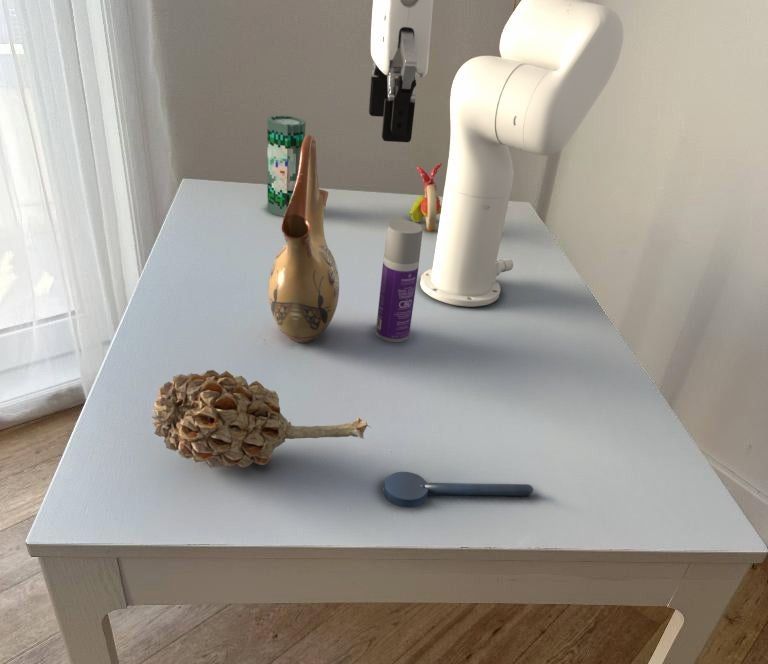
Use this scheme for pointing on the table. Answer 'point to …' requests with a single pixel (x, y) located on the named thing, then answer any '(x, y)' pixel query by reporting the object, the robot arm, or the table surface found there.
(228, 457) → the pine cone
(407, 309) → the container
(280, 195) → the can
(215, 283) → the table surface
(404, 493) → the spoon
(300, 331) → the ceramic vessel
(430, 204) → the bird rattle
